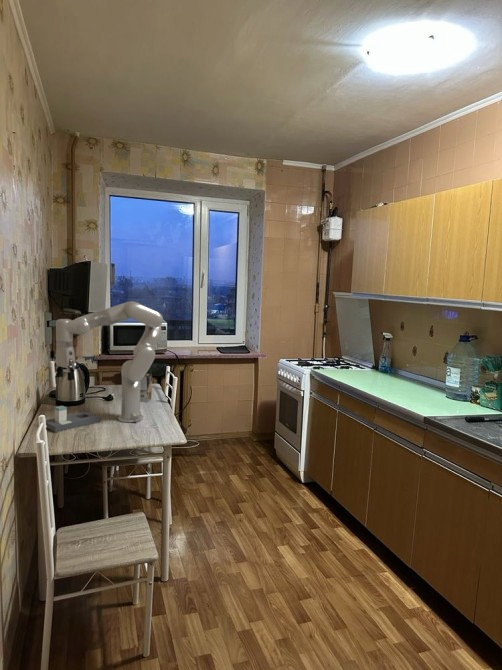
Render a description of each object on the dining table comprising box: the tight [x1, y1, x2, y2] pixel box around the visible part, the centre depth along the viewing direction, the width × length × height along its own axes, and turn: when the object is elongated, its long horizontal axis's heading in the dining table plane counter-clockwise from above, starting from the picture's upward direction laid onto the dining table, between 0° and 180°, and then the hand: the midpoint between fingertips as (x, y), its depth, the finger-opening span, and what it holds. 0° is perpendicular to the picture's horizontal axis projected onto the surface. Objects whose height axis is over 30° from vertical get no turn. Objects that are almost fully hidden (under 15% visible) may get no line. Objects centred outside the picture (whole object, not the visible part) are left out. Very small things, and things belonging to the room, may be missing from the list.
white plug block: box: [54, 405, 68, 424], centre depth 218 cm, size 4×4×10 cm
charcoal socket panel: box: [46, 411, 101, 433], centre depth 223 cm, size 12×24×3 cm, turn 143°
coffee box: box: [140, 372, 153, 403], centre depth 274 cm, size 9×6×16 cm
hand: (65, 378), depth 219 cm, fingers open, 9 cm apart
